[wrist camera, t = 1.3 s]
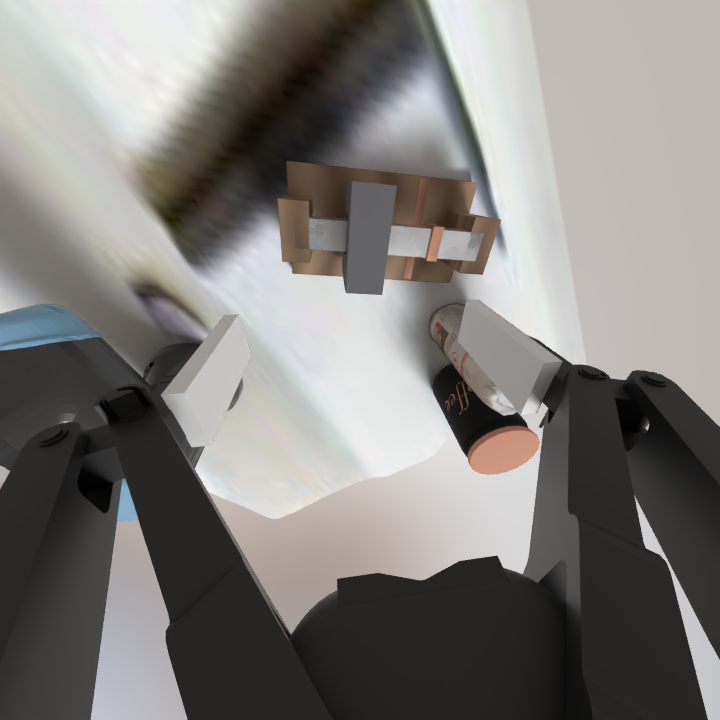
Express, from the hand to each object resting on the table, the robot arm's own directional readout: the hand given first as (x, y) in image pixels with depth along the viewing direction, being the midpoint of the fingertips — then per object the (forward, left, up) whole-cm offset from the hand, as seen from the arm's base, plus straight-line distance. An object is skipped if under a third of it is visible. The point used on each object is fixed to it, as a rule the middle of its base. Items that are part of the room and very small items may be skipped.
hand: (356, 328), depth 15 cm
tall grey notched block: (+2, +2, -24) cm, 24 cm away
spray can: (+20, -12, -27) cm, 36 cm away
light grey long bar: (+5, +2, -20) cm, 21 cm away
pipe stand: (+5, +2, -27) cm, 27 cm away
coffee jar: (+25, -25, -27) cm, 44 cm away
